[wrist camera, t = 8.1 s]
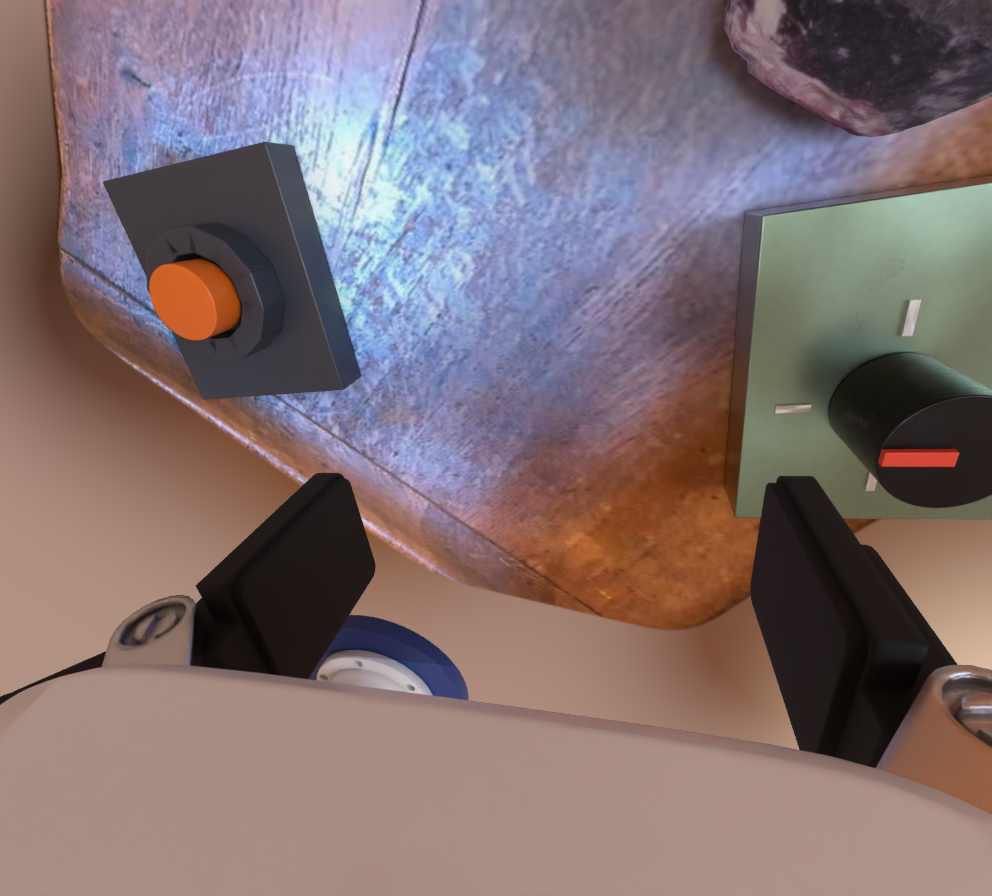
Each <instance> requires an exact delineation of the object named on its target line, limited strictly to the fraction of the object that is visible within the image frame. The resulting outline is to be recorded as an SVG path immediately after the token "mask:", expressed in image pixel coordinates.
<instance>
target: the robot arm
mask: <svg viewBox="0 0 992 896" xmlns="http://www.w3.org/2000/svg"><path fill="white" fill-rule="evenodd" d="M374 573H375V561H374V558H373V555H372V552H371V548H370V545H369V542H368V538H367V535H366V532H365V529H364V526H363V522H362V519H361V516H360V513H359V509H358V506H357V503H356V500H355V497H354V493H353V490H352V487H351V484H350V482H349V481H348V480H347V479H345V478H344V477H343V476H342V474H339V473H317V474H315V475H314V476H312V477H311V478H310V479H309V480H308V481H307V482H306V483H305V484H304V485H303V486H302V487H301V488H300V489H299V490H298V491H296V492H295V493H294V494H293V495H292V496H291V497H290V498H289V499H288V500H287V501H286V502H285V503H284V504H283V505H282V506H280V507H279V508H278V509H277V510H276V511H275V512H274V513H273V514H272V515H271V516H270V517H269V518H268V519H267V520H266V521H264V523H262V524H261V525H260V526H259V527H258V528H257V529H256V530H255V531H254V532H253V533H252V534H251V535H249V536H248V538H246V539H245V540H244V541H243V542H242V543H241V544H240V545H239V546H238V547H237V548H236V549H235V550H233V551H232V552H231V553H230V554H229V555H228V556H227V557H226V558H225V559H224V560H223V561H222V562H221V563H220V564H218V565H217V566H216V567H215V568H214V569H213V570H212V571H211V572H210V573H209V574H208V575H207V576H206V577H205V578H203V579H202V580H201V581H200V582H199V583H198V584H197V585H196V587H197V589H198V591H199V593H200V594H201V596H202V598H201V599H200V600H199V601H198V602H197V603H196V604H195V602H194V600H193V599H191V598H190V597H189V596H184V595H176V596H169V597H166V598H162V599H159V600H157V601H154V602H152V603H150V604H148V605H146V606H144V607H142V608H141V609H139V610H137V611H136V612H134V613H133V614H132V615H130V616H129V617H128V618H126V619H125V620H124V621H123V622H122V623H121V624H120V625H119V626H118V627H117V629H116V630H115V631H114V633H113V635H112V637H111V639H110V642H109V645H108V648H107V651H106V652H103V653H101V654H99V655H96V656H94V657H92V658H90V659H87V660H85V661H83V662H81V663H78V664H76V665H73V666H71V667H69V668H67V669H64V670H62V671H60V672H58V673H55V674H53V675H51V676H48V677H46V678H44V679H41V680H39V681H37V682H35V683H32V684H30V685H27V686H25V687H23V688H21V689H18V690H16V691H14V692H12V693H9V694H6V695H3V696H1V697H0V896H992V670H989V669H985V668H980V667H976V666H972V665H957V663H956V662H955V661H954V659H953V658H952V656H951V655H950V653H949V652H948V651H947V650H946V648H945V647H944V645H943V644H942V642H941V641H940V639H939V638H938V637H937V635H936V634H935V632H934V631H933V630H932V628H931V627H930V625H928V623H927V621H926V620H925V618H924V617H923V616H922V614H921V613H920V611H919V610H918V609H917V607H916V606H915V605H914V603H913V602H912V600H911V599H910V597H909V596H908V595H907V594H906V592H905V590H904V589H903V588H902V586H901V585H900V584H899V582H898V581H897V580H896V578H895V576H894V575H893V574H892V572H891V571H890V570H889V568H888V567H887V565H886V564H885V563H884V561H883V560H882V558H881V557H880V556H879V554H878V553H877V552H876V551H875V550H874V549H873V548H872V547H870V546H868V545H861V544H860V543H859V541H858V540H857V538H856V537H855V535H854V534H853V533H852V531H851V530H850V528H849V527H848V525H847V524H846V522H845V521H844V519H843V518H842V516H841V515H840V513H839V512H838V511H837V509H836V508H835V506H834V505H833V503H832V502H831V500H830V499H829V497H828V496H827V494H826V493H825V492H824V490H823V489H822V487H821V486H820V484H819V483H818V481H817V480H816V479H815V478H814V477H813V476H779V477H778V478H777V480H776V483H768V484H767V485H766V488H765V494H764V501H763V507H762V514H761V520H760V527H759V533H758V540H757V546H756V553H755V559H754V566H753V572H752V579H751V587H750V592H751V600H752V604H753V607H754V610H755V613H756V616H757V620H758V623H759V626H760V629H761V632H762V635H763V638H764V641H765V644H766V647H767V650H768V654H769V656H770V660H771V663H772V666H773V669H774V672H775V675H776V678H777V681H778V684H779V688H780V691H781V694H782V697H783V700H784V703H785V706H786V709H787V712H788V715H789V718H790V722H791V725H792V728H793V730H794V734H795V736H796V740H797V743H798V746H799V749H800V750H796V749H791V748H786V747H781V746H776V745H771V744H765V743H758V742H753V741H746V740H739V739H733V738H727V737H721V736H714V735H707V734H701V733H695V732H689V731H682V730H676V729H669V728H663V727H656V726H649V725H641V724H635V723H628V722H620V721H613V720H606V719H598V718H592V717H585V716H577V715H570V714H563V713H556V712H549V711H542V710H535V709H527V708H520V707H513V706H506V705H499V704H491V703H484V702H476V701H469V700H462V699H454V698H447V697H439V696H433V694H432V693H431V691H430V689H429V688H428V686H427V685H426V684H425V683H424V681H423V680H422V679H421V678H420V677H419V676H418V675H417V674H415V673H414V672H413V671H412V670H410V669H409V668H408V667H406V666H405V665H403V664H401V663H399V662H398V661H396V660H394V659H392V658H389V657H387V656H384V655H382V654H378V653H375V652H371V651H365V650H344V651H339V652H336V653H334V654H332V655H330V656H329V657H328V658H327V659H326V660H325V661H324V663H323V664H322V666H321V667H320V669H319V671H318V673H317V680H310V679H309V677H310V676H311V674H312V672H313V671H314V669H315V668H316V666H317V665H318V663H319V661H320V660H321V658H322V657H323V655H324V653H325V652H326V650H327V649H328V647H329V646H330V644H331V642H332V641H333V639H334V638H335V636H336V635H337V633H338V631H339V630H340V628H341V627H342V625H343V624H344V622H345V620H346V619H347V617H348V616H349V614H350V613H351V611H352V609H353V608H354V606H355V605H356V603H357V601H358V600H359V598H360V597H361V595H362V594H363V592H364V590H365V589H366V587H367V586H368V584H369V583H370V581H371V579H372V578H373V576H374Z"/></svg>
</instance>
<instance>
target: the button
mask: <svg viewBox="0 0 992 896" xmlns="http://www.w3.org/2000/svg"><path fill="white" fill-rule="evenodd" d="M149 291H150V297H151V300H152V303H153V306H154V308H155V310H156V312H157V314H158V315H159V317H160V318H161V320H162V321H163V322H164V323H165V324H166V325H167V326H168V327H169V328H170V329H171V330H172V331H173V332H175V333H176V334H178V335H179V336H181V337H184V338H186V339H190V340H204V339H206V338H209V337H212V336H214V335H217V334H220V333H223V332H225V331H228V330H230V329H232V328H233V327H234V326H235V325H236V324H237V323H238V321H239V318H240V315H241V302H240V298H239V295H238V293H237V290H236V288H235V285H234V284H233V282H232V280H231V279H230V278H229V276H228V275H227V274H226V273H225V272H224V271H223V270H222V269H221V268H219V267H218V266H216V265H215V264H213V263H211V262H209V261H206V260H202V259H192V260H187V261H181V262H175V263H169V264H164V265H161V266H159V267H158V268H157V269H156V270H155V271H154V272H153V274H152V276H151V278H150V283H149Z"/></svg>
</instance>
